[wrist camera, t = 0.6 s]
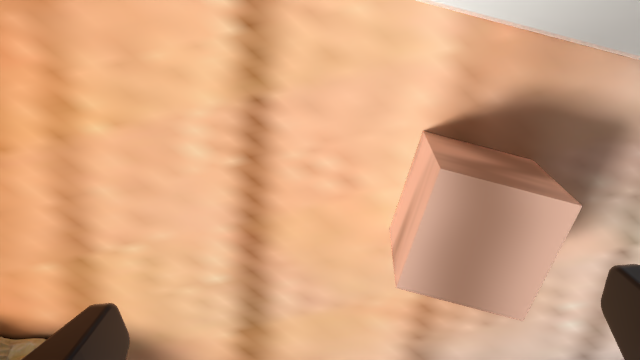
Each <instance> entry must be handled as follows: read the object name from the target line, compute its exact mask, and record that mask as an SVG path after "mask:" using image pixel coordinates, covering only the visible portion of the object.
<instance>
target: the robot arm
mask: <svg viewBox="0 0 640 360" xmlns="http://www.w3.org/2000/svg"><path fill="white" fill-rule="evenodd" d="M601 308H602V312H603V314H604V316H605V319H606V321H607V323H608V325H609V327H610V329H611V332H612V334H613V336H614V338H615V340H616V342H617V344H618V347H619V349H620V351H621V353H622V355H623V357H624V359H625V360H640V265H637V264H630V265H617V266H614V267H612V268H611V269H610V270H609V273H608V277H607V280H606V284H605V287H604V291H603V294H602V298H601ZM129 342H130V341H129V334H128V331H127V328H126V326H125V324H124V321H123V319H122V317H121V314H120V312H119V310H118V308H117V306H116V305H114V304H112V303H106V304H94V305H91V306H89V307H88V308H86V309H85V310H84V311H83V312H81V313H80V314H79V315H77V316H76V317H75V318H74V319H72V320H71V321H70V322H68V323H67V324H66V325H65V326H63V327H62V328H61V329H60V330H58V331H57V332H56V333H54V334H53V335H52V336H51V337H49V338H48V339H47V340H45V341H44V342H43V343H42V344H40V345H39V346H38V347H37V348H35V349H34V350H33V351H31V352H30V353H29V354H28V355H26V356H25V357H24V358H23V359H21V360H126V357H127V353H128V349H129Z"/></svg>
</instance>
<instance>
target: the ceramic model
mask: <svg viewBox="0 0 640 360" xmlns="http://www.w3.org/2000/svg"><path fill="white" fill-rule="evenodd" d="M45 340H46V339H44V338H32V339H19V340H12V339H7V338H3V337H0V360H21V359H23V358H24V357H25V356H26V355H28V354H29V353H30V352H31V351H33V350H34V349H35V348H37V347H38V346H39V345H40V344H42V343H43V342H44V341H45Z"/></svg>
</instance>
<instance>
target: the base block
mask: <svg viewBox="0 0 640 360" xmlns="http://www.w3.org/2000/svg"><path fill="white" fill-rule="evenodd" d="M415 1H419V2H423V3H427V4H430V5H434V6H438V7H442V8H445V9H449V10H453V11H457V12H460V13H464V14H468V15H472V16H476V17H479V18H483V19H487V20H491V21H494V22H498V23H502V24H506V25H509V26H513V27H517V28H521V29H525V30H528V31H532V32H536V33H540V34H543V35H547V36H551V37H555V38H558V39H562V40H566V41H570V42H574V43H577V44H581V45H585V46H589V47H592V48H596V49H600V50H604V51H607V52H611V53H615V54H619V55H623V56H626V57H630V58H634V59H639V60H640V0H415Z"/></svg>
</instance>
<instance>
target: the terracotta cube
mask: <svg viewBox="0 0 640 360" xmlns="http://www.w3.org/2000/svg"><path fill="white" fill-rule="evenodd" d="M581 208H582V205H581V204H580V203H579V202H578V201H577V200H575V199H574V198H573V197H572V196H571V195H570V194H569V193H568V192H567V191H566V190H565V189H564V188H563V187H561V186H560V185H559V184H558V183H557V182H556V181H555V180H554V179H553V178H552V177H551V176H550V175H549V174H547V173H546V172H545V171H544V170H543V169H542V168H541V167H540V166H539V165H538V164H537V163H536V162H535V161H533V160H531V159H528V158H524V157H520V156H516V155H512V154H509V153H505V152H501V151H497V150H494V149H490V148H486V147H482V146H478V145H475V144H471V143H467V142H463V141H459V140H456V139H452V138H448V137H444V136H441V135H437V134H433V133H429V132H425V131H423V132H422V135H421V138H420V141H419V144H418V147H417V150H416V153H415V156H414V159H413V162H412V164H411V167H410V170H409V173H408V176H407V179H406V182H405V185H404V188H403V191H402V193H401V196H400V199H399V202H398V205H397V208H396V211H395V214H394V217H393V220H392V222H391V225H390V228H389V229H390V238H391V247H392V256H393V265H394V274H395V282H396V288H399V289H402V290H406V291H410V292H414V293H418V294H421V295H425V296H429V297H433V298H437V299H440V300H444V301H448V302H452V303H456V304H459V305H463V306H467V307H471V308H475V309H478V310H482V311H486V312H490V313H494V314H498V315H501V316H505V317H509V318H513V319H517V320H520V321H523V320H524V318H525V316H526V315H527V313H528V311H529V309H530V307H531V305H532V303H533V301H534V299H535V297H536V295H537V293H538V291H539V289H540V287H541V285H542V284H543V282H544V280H545V278H546V276H547V274H548V272H549V270H550V268H551V266H552V264H553V262H554V260H555V258H556V256H557V254H558V253H559V251H560V249H561V247H562V245H563V243H564V241H565V239H566V237H567V235H568V233H569V231H570V229H571V227H572V225H573V223H574V222H575V220H576V218H577V216H578V214H579V212H580V210H581Z"/></svg>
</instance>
